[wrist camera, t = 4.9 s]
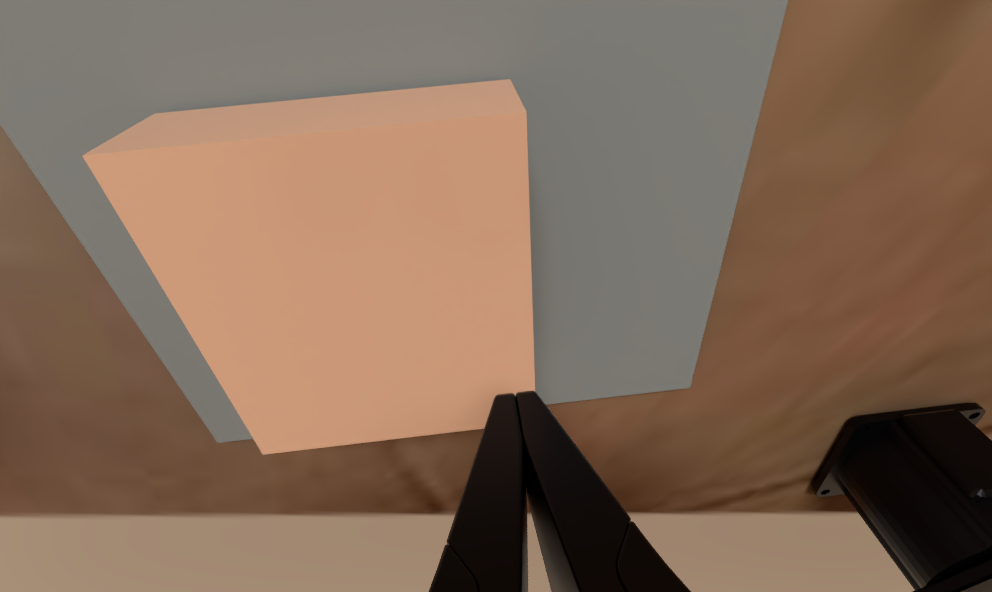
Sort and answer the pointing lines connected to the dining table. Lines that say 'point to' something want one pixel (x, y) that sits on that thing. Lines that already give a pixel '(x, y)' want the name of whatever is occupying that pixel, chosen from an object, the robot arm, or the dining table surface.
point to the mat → (426, 63)
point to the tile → (342, 255)
